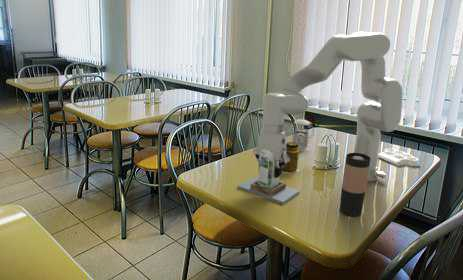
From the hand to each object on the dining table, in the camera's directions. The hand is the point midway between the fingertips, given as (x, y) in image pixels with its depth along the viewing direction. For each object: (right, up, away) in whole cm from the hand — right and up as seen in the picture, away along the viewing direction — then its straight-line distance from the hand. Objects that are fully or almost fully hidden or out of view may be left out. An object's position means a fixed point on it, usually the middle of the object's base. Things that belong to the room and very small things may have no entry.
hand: (269, 173), depth 136 cm
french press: (+22, +8, +52) cm, 57 cm away
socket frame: (0, -7, +2) cm, 7 cm away
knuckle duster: (+66, +2, +40) cm, 77 cm away
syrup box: (0, -4, +1) cm, 5 cm away
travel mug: (+26, -12, -12) cm, 31 cm away
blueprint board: (0, -7, +2) cm, 7 cm away
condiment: (+11, -1, +23) cm, 25 cm away
